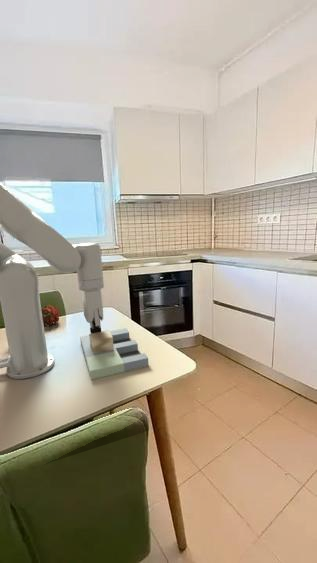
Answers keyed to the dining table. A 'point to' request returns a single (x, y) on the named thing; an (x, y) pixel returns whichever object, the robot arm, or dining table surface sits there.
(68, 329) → the dining table surface
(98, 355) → the board
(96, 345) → the block
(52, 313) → the dragon fruit
